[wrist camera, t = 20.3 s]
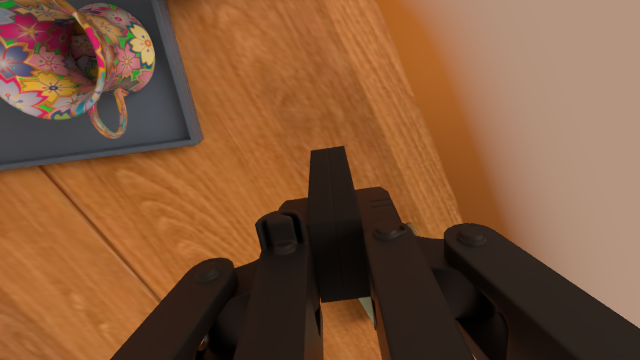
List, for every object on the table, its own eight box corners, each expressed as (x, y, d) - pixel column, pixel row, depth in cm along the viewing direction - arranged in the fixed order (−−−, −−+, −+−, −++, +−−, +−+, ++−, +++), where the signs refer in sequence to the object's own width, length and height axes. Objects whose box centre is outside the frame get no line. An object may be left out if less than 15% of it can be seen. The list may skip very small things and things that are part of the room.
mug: (47, 24, 33) (-65, 18, 23) (127, -18, 32) (43, -43, 22) (121, 134, 37) (52, 168, 28) (194, 101, 36) (149, 124, 26)
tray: (155, -37, 32) (145, -42, 30) (203, 139, 38) (197, 144, 36) (-116, 5, 33) (-143, 3, 31) (-24, 169, 40) (-42, 176, 38)
